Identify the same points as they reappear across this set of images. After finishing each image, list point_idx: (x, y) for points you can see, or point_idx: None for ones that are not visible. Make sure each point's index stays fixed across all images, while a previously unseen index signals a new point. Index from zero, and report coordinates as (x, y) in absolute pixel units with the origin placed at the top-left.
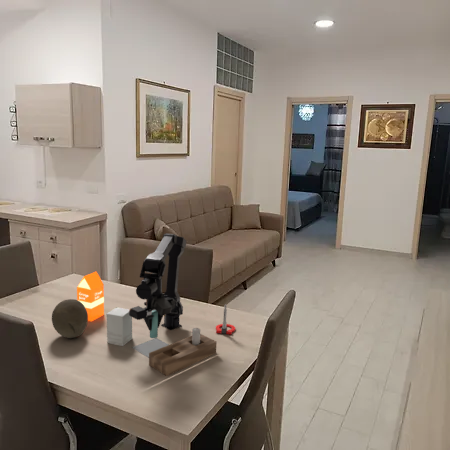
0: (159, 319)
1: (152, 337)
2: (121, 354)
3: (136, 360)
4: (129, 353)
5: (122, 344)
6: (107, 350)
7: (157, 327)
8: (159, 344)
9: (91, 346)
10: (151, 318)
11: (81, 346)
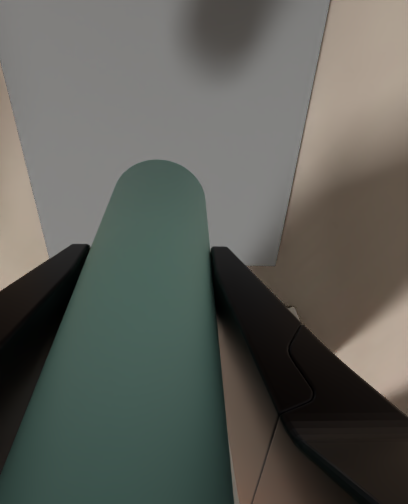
0: (6, 343)
1: (198, 184)
2: (376, 242)
3: (398, 95)
4: (335, 219)
5: (298, 317)
6: (376, 322)
7: (109, 233)
8: (87, 168)
9: (382, 385)
10: (345, 445)
11: (405, 404)
